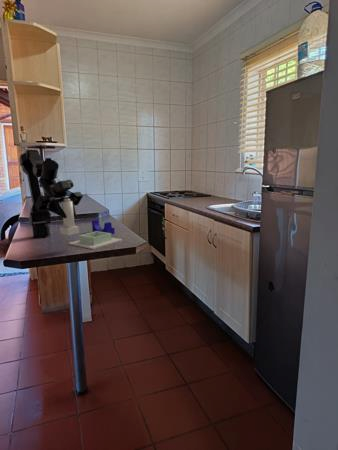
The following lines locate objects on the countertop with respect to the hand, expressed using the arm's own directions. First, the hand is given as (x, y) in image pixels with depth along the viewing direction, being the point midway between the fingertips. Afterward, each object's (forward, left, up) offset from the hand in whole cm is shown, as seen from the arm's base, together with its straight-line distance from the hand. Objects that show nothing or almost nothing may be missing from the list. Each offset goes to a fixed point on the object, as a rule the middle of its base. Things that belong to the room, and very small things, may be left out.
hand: (70, 216), depth 118 cm
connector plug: (-1, +1, -7) cm, 7 cm away
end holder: (+6, +12, -13) cm, 19 cm away
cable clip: (+5, +31, -14) cm, 34 cm away
